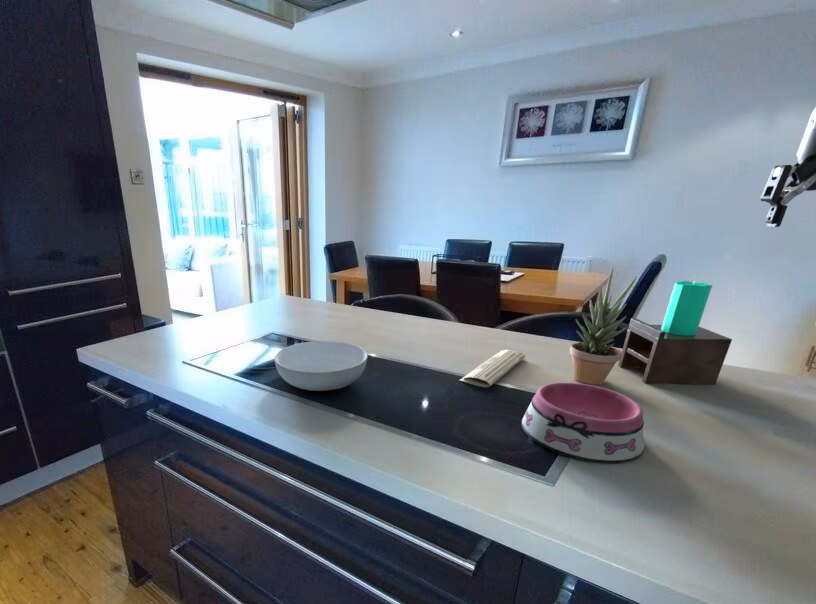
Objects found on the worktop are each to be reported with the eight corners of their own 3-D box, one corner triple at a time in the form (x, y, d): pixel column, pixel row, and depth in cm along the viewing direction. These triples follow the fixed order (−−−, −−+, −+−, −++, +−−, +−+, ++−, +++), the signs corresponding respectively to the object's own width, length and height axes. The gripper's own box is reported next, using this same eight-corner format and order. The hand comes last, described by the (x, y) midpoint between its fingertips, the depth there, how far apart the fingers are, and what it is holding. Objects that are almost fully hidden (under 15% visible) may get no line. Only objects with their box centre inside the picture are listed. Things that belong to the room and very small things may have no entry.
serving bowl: (291, 363, 113) (290, 338, 111) (372, 369, 108) (373, 343, 105) (262, 397, 95) (260, 367, 92) (358, 406, 90) (359, 375, 87)
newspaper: (489, 388, 96) (491, 381, 95) (458, 381, 100) (459, 373, 99) (524, 359, 112) (526, 352, 111) (496, 353, 116) (497, 347, 115)
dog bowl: (657, 434, 76) (669, 399, 73) (624, 478, 65) (636, 438, 62) (545, 402, 89) (552, 370, 86) (502, 434, 78) (508, 399, 75)
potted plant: (617, 377, 99) (648, 266, 90) (609, 391, 93) (641, 272, 83) (568, 368, 106) (591, 262, 96) (557, 380, 99) (581, 268, 89)
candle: (694, 337, 92) (714, 279, 88) (659, 332, 96) (676, 276, 91) (697, 330, 96) (715, 275, 92) (662, 326, 100) (679, 272, 95)
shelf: (681, 366, 105) (697, 318, 100) (715, 384, 95) (734, 332, 90) (618, 365, 106) (630, 318, 102) (645, 383, 96) (660, 331, 92)
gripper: (811, 124, 72) (772, 228, 79) (910, 120, 71) (863, 227, 77) (772, 130, 79) (739, 226, 86) (862, 127, 78) (821, 224, 84)
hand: (798, 226), depth 81 cm, fingers open, 8 cm apart
